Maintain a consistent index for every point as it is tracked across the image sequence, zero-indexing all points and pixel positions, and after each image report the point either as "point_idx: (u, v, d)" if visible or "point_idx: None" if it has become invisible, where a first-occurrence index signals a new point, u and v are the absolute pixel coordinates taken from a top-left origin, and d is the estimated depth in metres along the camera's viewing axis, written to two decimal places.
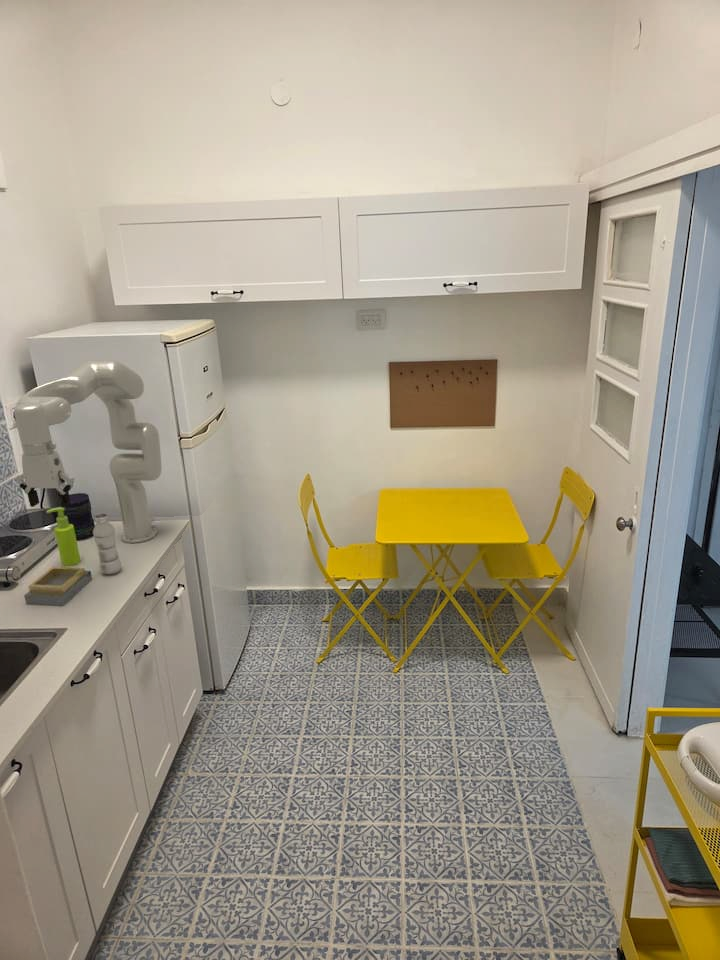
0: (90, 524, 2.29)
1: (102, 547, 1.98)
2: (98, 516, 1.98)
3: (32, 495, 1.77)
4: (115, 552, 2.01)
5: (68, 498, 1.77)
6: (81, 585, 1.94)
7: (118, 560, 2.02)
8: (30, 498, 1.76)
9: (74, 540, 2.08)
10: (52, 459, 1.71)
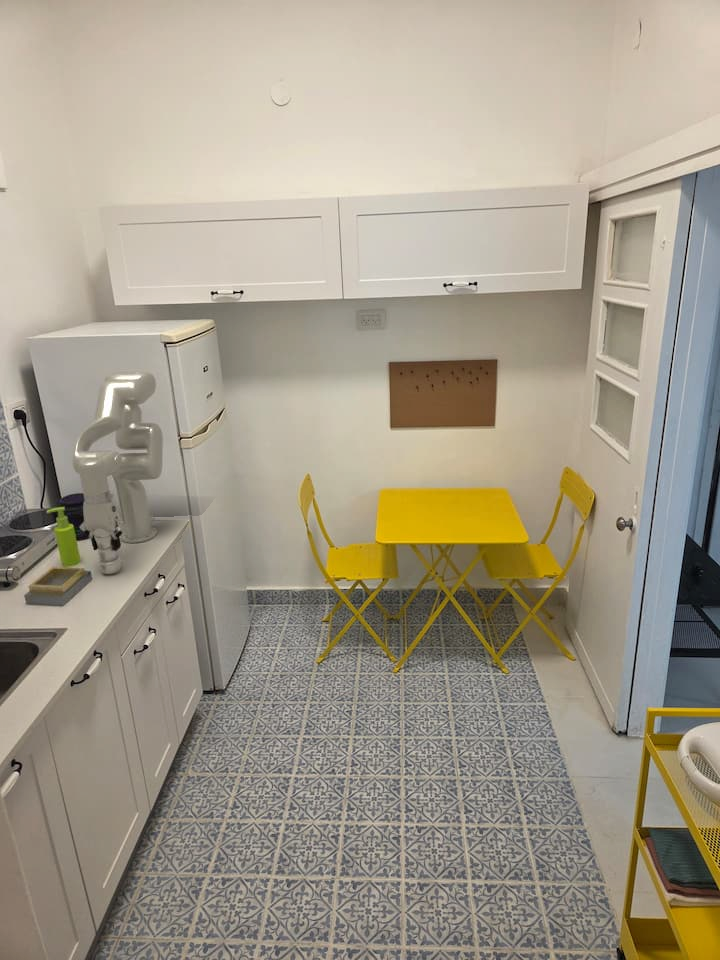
0: None
1: (102, 547, 1.98)
2: None
3: (95, 540, 2.00)
4: (115, 552, 2.01)
5: (119, 542, 2.00)
6: (81, 585, 1.94)
7: (118, 560, 2.02)
8: (93, 543, 1.99)
9: (74, 540, 2.08)
10: (110, 507, 1.94)
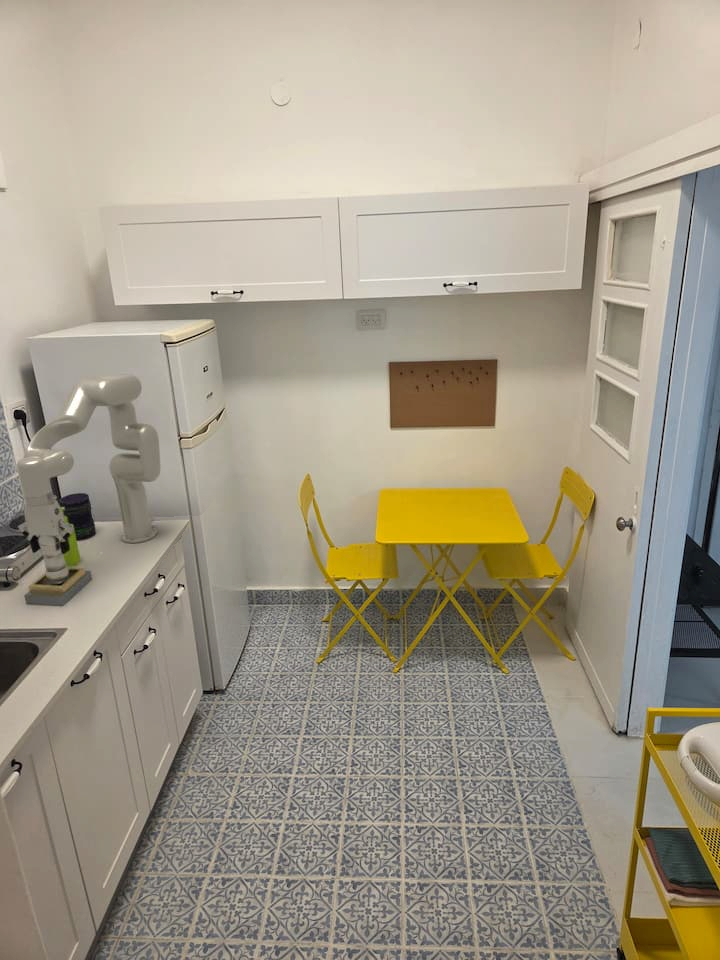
0: (90, 524, 2.29)
1: (47, 556, 1.87)
2: None
3: (34, 542, 1.87)
4: (62, 561, 1.89)
5: (68, 545, 1.87)
6: (81, 585, 1.94)
7: (65, 569, 1.91)
8: (32, 545, 1.87)
9: (74, 540, 2.08)
10: (53, 509, 1.82)
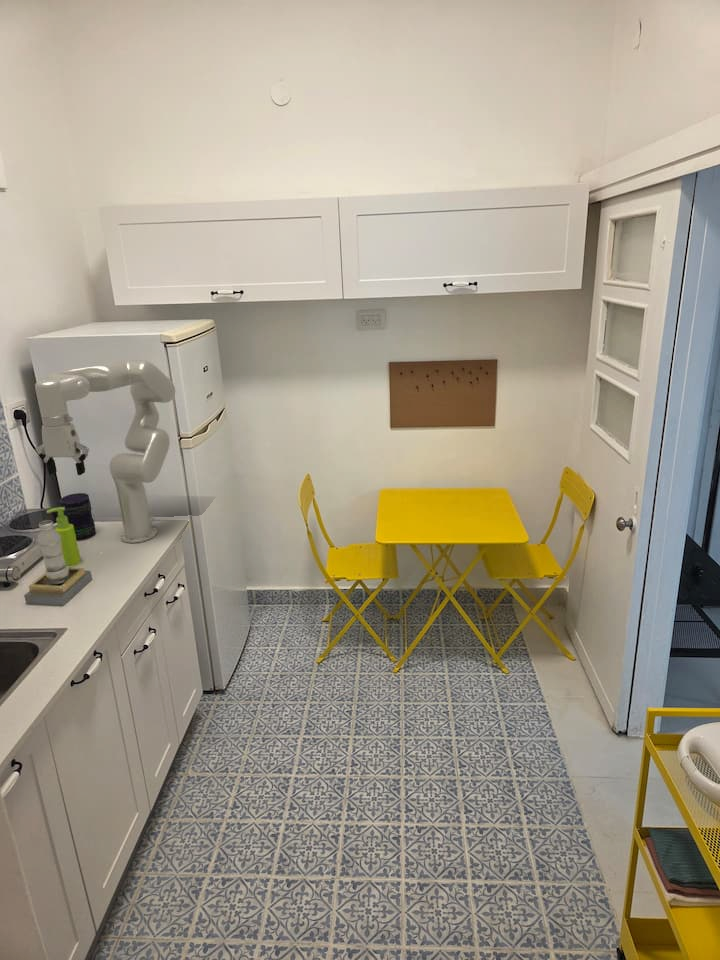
0: (90, 524, 2.29)
1: (47, 556, 1.87)
2: (43, 523, 1.87)
3: (50, 464, 1.94)
4: (62, 561, 1.89)
5: (83, 466, 1.94)
6: (81, 585, 1.94)
7: (65, 570, 1.90)
8: (49, 466, 1.94)
9: (74, 540, 2.08)
10: (69, 430, 1.89)
